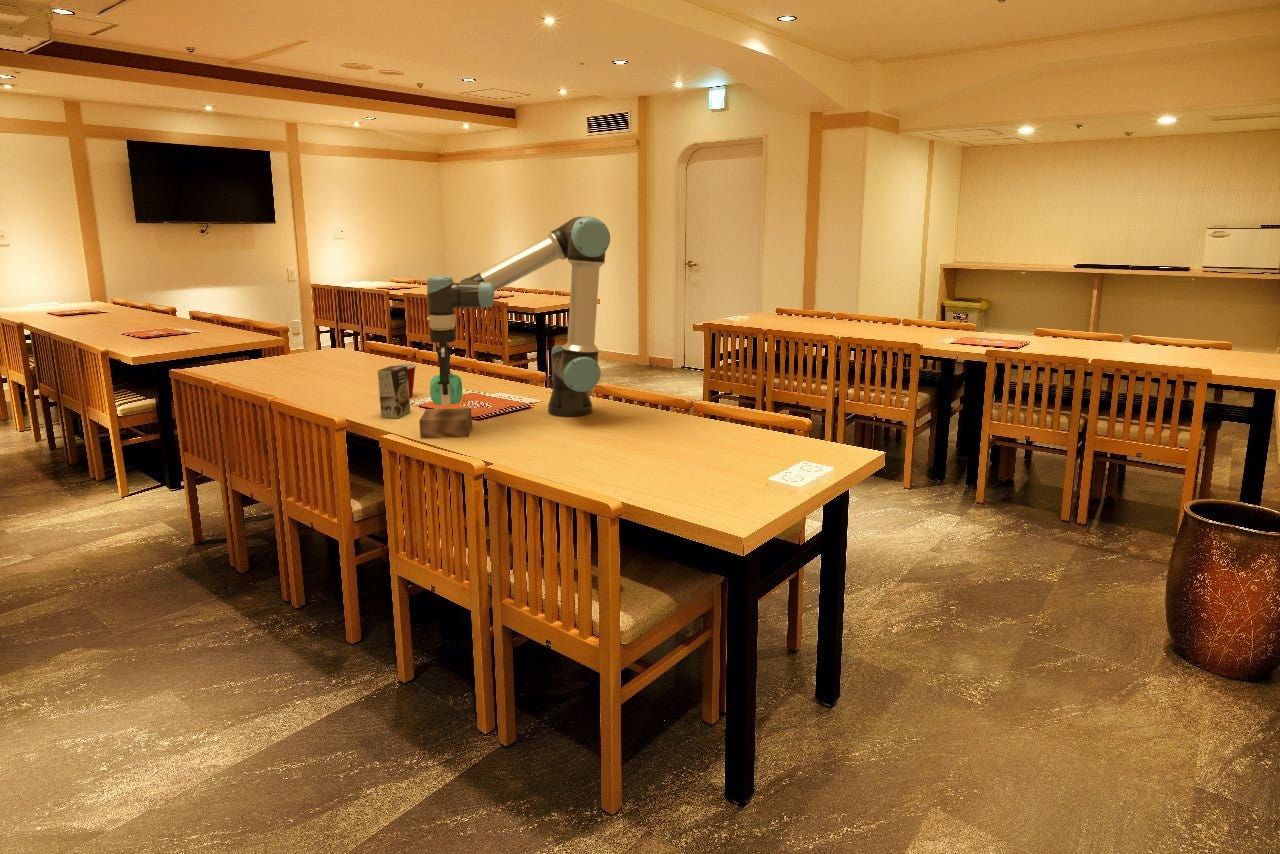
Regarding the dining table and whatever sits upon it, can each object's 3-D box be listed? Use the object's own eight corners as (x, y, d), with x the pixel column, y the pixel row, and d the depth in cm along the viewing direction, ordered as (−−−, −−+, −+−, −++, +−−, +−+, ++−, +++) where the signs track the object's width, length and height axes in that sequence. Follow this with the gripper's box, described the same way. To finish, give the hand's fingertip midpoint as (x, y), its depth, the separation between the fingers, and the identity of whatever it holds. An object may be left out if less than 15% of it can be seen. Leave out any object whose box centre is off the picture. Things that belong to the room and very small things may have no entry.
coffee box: (398, 419, 261) (394, 370, 257) (380, 418, 262) (376, 370, 258) (411, 412, 270) (408, 365, 266) (394, 411, 271) (390, 365, 267)
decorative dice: (430, 404, 241) (428, 379, 239) (437, 399, 248) (436, 373, 246) (456, 405, 240) (455, 379, 238) (463, 399, 248) (461, 374, 246)
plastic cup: (387, 395, 295) (385, 363, 292) (418, 393, 298) (415, 361, 295) (388, 401, 285) (385, 368, 282) (419, 399, 288) (416, 367, 285)
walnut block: (472, 426, 254) (471, 408, 252) (467, 438, 240) (466, 419, 239) (427, 427, 252) (426, 409, 251) (420, 439, 239) (419, 420, 237)
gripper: (431, 323, 248) (435, 394, 254) (427, 333, 227) (432, 410, 233) (456, 323, 249) (459, 393, 255) (454, 333, 229) (458, 408, 235)
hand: (446, 401), depth 244 cm, fingers closed on decorative dice, 9 cm apart
